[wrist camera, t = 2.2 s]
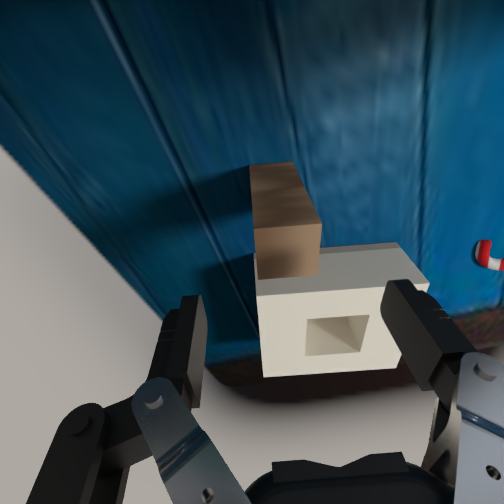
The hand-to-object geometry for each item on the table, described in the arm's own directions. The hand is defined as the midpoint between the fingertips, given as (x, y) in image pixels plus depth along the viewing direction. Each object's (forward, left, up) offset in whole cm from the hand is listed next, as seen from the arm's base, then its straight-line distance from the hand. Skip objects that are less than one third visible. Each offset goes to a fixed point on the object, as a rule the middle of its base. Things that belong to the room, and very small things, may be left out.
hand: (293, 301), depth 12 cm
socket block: (-5, +13, -14) cm, 20 cm away
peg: (0, 0, -14) cm, 14 cm away
